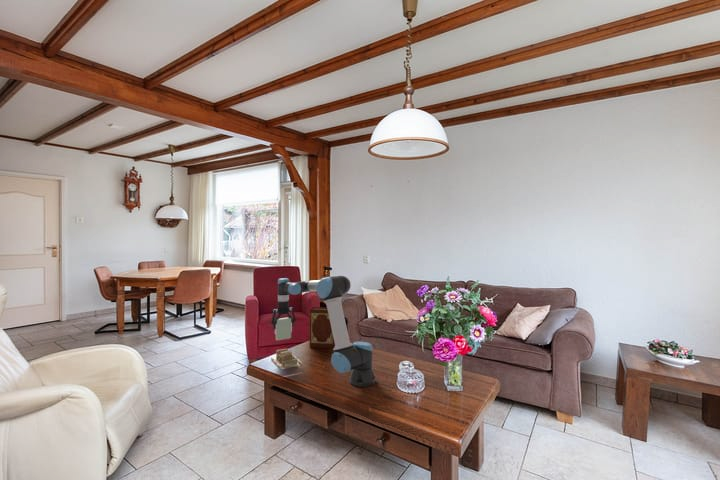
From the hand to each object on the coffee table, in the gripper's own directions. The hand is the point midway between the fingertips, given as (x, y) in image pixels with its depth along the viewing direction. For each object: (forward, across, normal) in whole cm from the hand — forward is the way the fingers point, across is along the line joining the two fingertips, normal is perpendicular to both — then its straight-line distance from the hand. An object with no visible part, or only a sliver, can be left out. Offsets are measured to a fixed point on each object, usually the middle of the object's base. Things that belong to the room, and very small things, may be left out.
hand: (283, 332), depth 234 cm
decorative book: (+20, -38, -14) cm, 45 cm away
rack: (+20, 0, +6) cm, 21 cm away
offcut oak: (+15, 0, +6) cm, 16 cm away
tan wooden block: (+19, 0, +6) cm, 20 cm away
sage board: (+4, 0, 0) cm, 4 cm away
